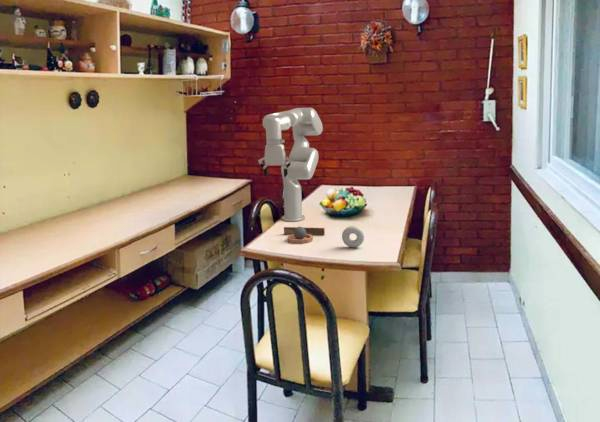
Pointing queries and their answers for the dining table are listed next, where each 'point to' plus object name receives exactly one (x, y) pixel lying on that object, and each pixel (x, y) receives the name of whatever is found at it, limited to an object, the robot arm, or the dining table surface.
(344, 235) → the donut
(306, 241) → the bowl
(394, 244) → the dining table surface
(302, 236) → the ball
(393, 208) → the dining table surface
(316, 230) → the wall
